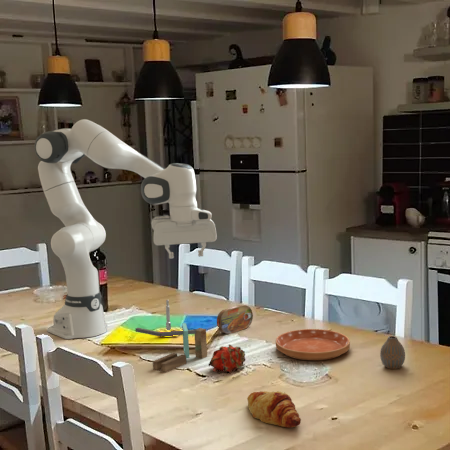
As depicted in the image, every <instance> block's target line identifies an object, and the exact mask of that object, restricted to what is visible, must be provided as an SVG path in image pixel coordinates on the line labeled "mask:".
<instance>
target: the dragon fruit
mask: <svg viewBox="0 0 450 450" xmlns="http://www.w3.org/2000/svg"><path fill="white" fill-rule="evenodd" d="M245 356H246V353H245V350H243V349H241V346H233V345H232V344H228V347H227V346H219V348H218V349H217V350H214V351H213V354H212V357H211V359H210V360H209V363H208V367H212V371H213V372H214V373H221V372H229V373H233V372H235V371H236V370H237V369H241V368H242V367H245V366H246V363H244V362H246V358H245Z"/></svg>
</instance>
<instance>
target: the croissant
mask: <svg viewBox="0 0 450 450" xmlns="http://www.w3.org/2000/svg"><path fill="white" fill-rule="evenodd" d="M246 399H247V407H248V409H249V412H250V413H251V414H252V418H253V419H254V418H255V419H257V420H259V421H260V420H261V421H260V422H262V423H264V424H265V423H266V424H269V425H275V426H278V427H282V428H287V429H288V428H289V429H291V428H295V427H298V426H299V425H301V421H302V419H301V417H300V415H299V412H298V411H297V410H296V405H295V404H294V402H293V401H292V398H291V397H290V395H289V394H288V393H286V392H283V391H279V390H278V391H265V390H264V391H263V390H262V391H253V392H251V393H249V395H248V396H247V398H246Z"/></svg>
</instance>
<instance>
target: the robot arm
mask: <svg viewBox="0 0 450 450" xmlns="http://www.w3.org/2000/svg"><path fill="white" fill-rule="evenodd" d="M33 147H34V152H35V156H36V157H37V158H38V159H39V160H40V161H39V163H38V166H37V171H38V176H39V180H40V185H41V187H42V191H43V193H44V196H45V198H46V202H47V203H48V206H49V209H50V212H51V213H52V214H53V215H54V216H55V217H57V218H58V219H59V220H60V221H61V222H62V224H63V225H64V227H61V228H60V229H59V230H57V231H56V232H55V233H53V235H52V237H51V239H50V248H51V250H52V252H53V253H54V255H55V256H56V257H58V258H59V260H60V262H61V265H62V267H63V270H64V274H65V281H66V282H65V283H66V293H67V294H65V295H62V297H63V298H62V299H63V300H64V305H63V306H62V307H61V308H60V309H58V310H57V311H56V312H55V313H54V315H53V323H52V325H50V326H49V327H47V329H46V332H48V333H50V334H53V335H55V336H58V337H60V338H61V339H65V340H71V339H81V338H91V337H96V336H99V335H102V334H104V333H106V332H107V331H108V329H107V327H108V323H107V322H106V319H105V313H104V308H103V304H102V293H101V291H100V284H99V283H100V282H99V271H98V269H97V268H96V267H95V266H94V265H93V262H92V260H91V258H90V253H91V252H94V251H96V250H97V249H99V248H100V247H101V246H103V244H104V242H105V241H106V237H107V234H106V233H107V232H106V230H105V228H104V225H102V224H101V223H100V222H98V221H97V220H96V219H95V217H93V215H92V213H90V211H89V210H88V208H87V206H86V205H85V203H84V201H83V199H82V197H81V194H80V192H79V189H78V187H77V185H76V182H75V179H74V177H73V174H72V171H71V166H72V164H78V163H79V161H80V160H81V159H83V158H84V157H87V158H88V159H90V160H91V161H92V162H93V163H95V164H97V165H99V166H101V167H103V168H104V169H113V170H125V171H131V172H134V173H135V174H138V175H139V176H140V177H142V178H143V180H142V182H141V185H140V193H141V196H142V199H143V200H144V201H145V202H146V203H148V204H150V205H162V204H163V205H164V204H167V203H168V204H169V215H168V214H167V215H157V216H155V217H154V218H152V219H151V221H150V223H151V229H152V230H153V244H154V245H155V246H164V249H165V250H166V251H167V253H168V259H174V258H175V256H174V255H175V254H174V252H173V251H171V250H170V247H171V245H182V244H184V245H185V244H198V243H200V244H201V246H202V247H200V249H199V250H198V251H197V253H198V257H200V258H201V257H204V251H205V250H206V247H207V243H214V242H216V240H217V238H218V235H217V229H216V224H215V222H214V221H213V220H212V215H213V214H212V212H211V211H209V210H205V209H203V208H198V201H197V199H196V195H197V181H196V180H197V179H196V174H195V170H194V168H193V167H192V166H191V165H190V164H187V163H179V162H173V163H170V164H169V165H168V166H167V167H163V166H161V165H160V164H158V163H157V162H156V161H153V159H152V160H151V159H150V158H149V157H147V156H146V155H144V154H142V153H141V152H139V151H137V150H136V149H134V148H133V147H131V146H130V145H128V144H127V143H125V142H124V141H122V140H121V139H120V138H119V137H117V136H116V135H115V134H113V133H112V132H110V131H109V130H108V129H106V128H104V127H103V126H102V125H100V124H97V122H96V123H95V121H92V120H89V119H86V118H84V119H83V118H82V119H80V120H77V121H76V122H75V123H74V124H73V126H72V127H71V128H60V129H55V130H50V131H45V132H43V133H41V134H39V135H38V136H37V138H36V139H35V142H34V146H33Z"/></svg>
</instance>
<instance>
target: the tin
mask: <svg viewBox="0 0 450 450" xmlns="http://www.w3.org/2000/svg"><path fill="white" fill-rule="evenodd" d="M253 318H254V314H253V310H252V309H251V307H250V306H249V305H247V304H238V305H236V306H235V305H234V306H232V307H231V306H230V307H229V308H225V309H222V310H221V311H220V312H219V313H218V314H217V317H216V326H218V327H219V329H218V330H219V331H220V332H221V333H223V334H227V335H231V334H233V333H237V332H240V331H242V330H243V331H244V330H246V329H249V327H250V326H251V324H252V322H253ZM218 327H217V328H218Z"/></svg>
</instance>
